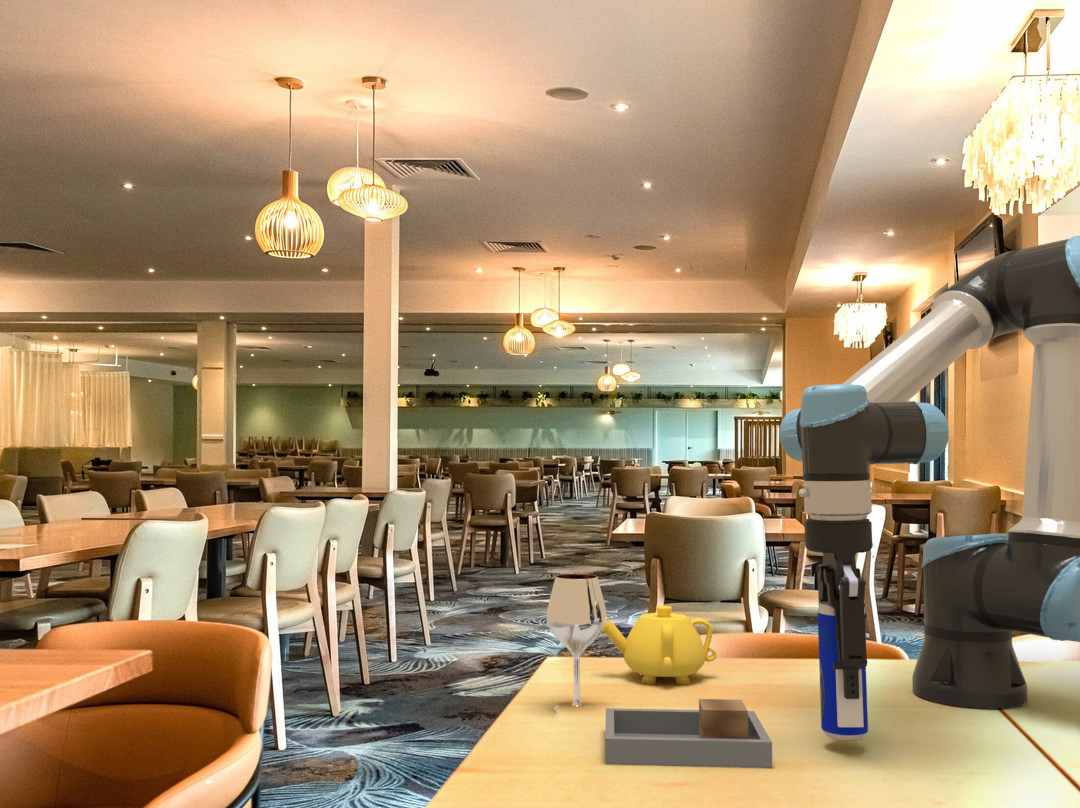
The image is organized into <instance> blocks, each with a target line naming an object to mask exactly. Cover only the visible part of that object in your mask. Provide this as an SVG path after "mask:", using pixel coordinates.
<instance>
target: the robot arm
mask: <svg viewBox="0 0 1080 808" xmlns="http://www.w3.org/2000/svg"><path fill="white" fill-rule="evenodd" d="M1018 331H1022V335H1023V337H1024V338H1025V339H1026V340H1027V341H1028V342H1029V343H1031V345H1032V346H1033V360H1032V361H1033V362H1032V374H1031V376H1032V377H1031V388H1030V390H1031V391H1030V403H1029V404H1030V405H1029V415H1028V416H1029V417H1028V430H1027V444H1026V446H1027V447H1026V458H1025V459H1026V461H1025V472H1024V473H1025V475H1024V487H1023V499H1022V512H1021V513H1022V515H1021V519H1020V520H1019V522H1017V523H1015V524H1014V525H1013V526H1012V527H1011V528H1009V530H1008V534H1007V533H986V534H985V533H984V534H970V535H954V536H939V537H933V538H930V539H928V540H926V542H925V543H924V546H923V550H922V551H923V552H922V553H923V554H922V555H923V556H922V563H921V574H922V576H921V578H922V601H923V623H924V624H923V625H924V626H923V627H924V628H923V629H924V630H923V631H924V633H923V634H924V637H923V638H924V639H923V642H922V645H921V648H920V652H919V654H918V657H917V658H918V659H917V660H916V664H915V667H914V669H913V673H912V680H911V681H912V693H913V694H915V695H916V696H918V697H919V698H922V699H925V700H928V701H932V702H936V703H940V704H945V705H951V706H957V707H965V708H973V709H974V708H978V709H1008V708H1017V707H1020V706H1023V705H1025V704H1026V703H1028V686H1027V681H1026V679H1025V677H1024V674H1023V671H1022V668H1021V666H1020V663H1019V660H1018V657H1017V654H1016V652H1015V649H1014V645H1013V632H1016V633H1017V632H1018V633H1022V634H1027V635H1034V636H1037V637H1038V636H1039V637H1043V638H1044V637H1045V638H1049V639H1051V640H1053V641H1061V642H1066V641H1071V642H1076V643H1080V235H1074V236H1071V237H1070V238H1065V239H1062V240H1057V241H1054V242H1053V241H1052V242H1047V243H1045V244H1039V245H1033V246H1030V247H1025V248H1021V249H1015V250H1010V251H1006V252H1004V253H1000V254H998V255H996V256H995V257H993V258H991V259H989V260H986V261H985V262H984V263H982V264H980V265H978V266H977V267H976V268H974V269H973V270H971V271H970V272H968V273H967V274H965V275H964V276H963V277H961V278H960V279H958V280H957V281H956V282H954V283H953V284H952V285H951V286H950V287H948V288H947V289H945V291H943V292H942V293H941V294H939V295H938V296H937V297H936V298H935V300H934V301H933V303H932V306H931V311H930V312H929V313H927V314H926V315H925V316H924V317H922V318H921V319H920V320H919V321H917V322H916V323H915V324H914V325H913V326H911V327H910V328H909V329H908V330H906V331H905V332H904V333H903V334H901V335H900V336H899V337H898V338H897V339H895V340H894V341H893V342H891V344H889V345H888V346H886V347H885V349H883V350H882V351H881V352H880V353H878V354H876V356H874V357H873V358H872V359H871V360H870V361H868V362H867V363H866V364H864V365H863V366H862V367H861V368H859V370H858V371H856V372H855V373H854V374H852V375H851V376H850V377H849V378H847V380H845V381H844V382H842V383H839V384H838V383H836V384H818V385H817V384H816V385H811V386H809V387H807V388H805V389H804V390H803V391H802V394H801V399H800V400H801V401H800V407H799V408H795V409H792V410H791V411H789V412H787V414H785V416H784V418H783V419H782V421H781V423H780V427H779V433H778V434H779V435H778V436H779V441H780V444H781V448H782V449H783V450H784V452H785V454H786V455H787V456H788V457H789V458H790V459H792V460H794V461H796V462H801V463H802V479H803V486H804V488H799V490H798V496H799V497H801V498H803V505H804V506H803V507H804V508H803V509H804V510H803V511H804V513H805V514H806V515H809V518H806V519H805V521H804V522H803V523H804V525H803V526H804V546H805V549H806V550H807V551H809V552H812V553H817V554H818V553H819V554H822V563H817V564H816V566H815V571H816V576H817V586H818V587H817V594H818V606H819V605H820V602H823V601H824V602H828V604H829V606H830V607H832V608H834V614H835V633H836V644H837V655H838V664H832V669H836V695H837V725H838V727H864V724H863V695H862V668H863V667H866V668H867V666H868V657H867V634H866V630H867V629H866V611H865V609H866V607H865V606H866V605H865V593H866V585H867V584H866V580H865V577H863V576H862V575H861V569H860V568H859V567H857V564H856V558H855V556H856V554H857V553H861V554H863V553H867V552H870V551H871V550H872V548H873V528H872V527H873V525H872V524H873V523H872V521H870V519H869V518H867V516H868V515H870V514H871V513H872V511H873V510H872V489H871V488H872V487H871V486H872V485H871V466H872V465H895V464H896V465H897V464H898V465H901V464H909V465H915V466H916V465H918V464H919V463H930V462H933V461H934V460H937V459H938V458H940V457H941V456H942V454H943V453H944V451H945V450H946V448H947V447H948V446H947V445H948V443H949V438H950V437H949V433H950V431H949V423H948V420H947V418H946V416H945V415H944V413H943V412H942V411H941V409H939V408H938V407H937V406H936V405H934V404H932V403H928V402H917V401H916V400H911V399H912V398H913V397H914V396H915V395H917V394H918V393H919V392H920V391H921V390H922V389H924V388H925V387H926V386H927V385H928V384H930V383H931V382H932V381H933V380H935V378H936V377H938V376H939V375H940V374H941V373H942V372H944V371H945V370H946V369H947V368H948V367H950V366H951V365H952V364H953V363H955V361H956V360H958V359H959V358H960V357H962V356H963V354H964V353H966V352H968V350H975V349H976V350H977V349H980V348H982V347H984V346H985V345H987V344H988V343H989V342H990V341H992V340H993V339H995V338H997V337H1000V336H1002V335H1006V334H1010V333H1013V332H1018ZM909 400H911V401H909ZM854 655H855V656H854Z"/></svg>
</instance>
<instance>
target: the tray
mask: <svg viewBox="0 0 1080 808" xmlns="http://www.w3.org/2000/svg"><path fill="white" fill-rule="evenodd" d="M604 726H605V730H604V731H605V735H604V737H605V738H604V748H605V749H604V750H605V753H604V757H605V758H604V759H605V761H604V764H605V765H616V766H617V765H620V766H623V765H625V766H657V767H658V766H661V767H662V766H664V767H665V766H666V767H667V766H668V767H699V768H700V767H702V768H703V767H705V768H706V767H707V768H743V769H744V768H746V769H750V768H752V769H773V743H772V740H771V739H770V736H769V735H768V733H767V731H766V729H765V727H764V726H763V724H762V722H761V721H760V719H759V717H758V715H757V713H756V712H755V710H748V739H716V738H699V709H671V708H670V709H663V708H661V709H659V708H656V709H655V708H619V707H618V708H614V707H612V708H611V707H610V708H608V707H606V708H605V725H604Z"/></svg>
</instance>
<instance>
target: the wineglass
mask: <svg viewBox="0 0 1080 808" xmlns="http://www.w3.org/2000/svg"><path fill="white" fill-rule="evenodd" d="M549 597H550V598H549V601H548V605H547V611H546V623H547V626H548V629H549V630H550V632H551V633H552V635H553V636H554V637H555V638H556V639H557V641H559V642H560V643H561V644H562V645H563V646H564V647H565V648H567V650H568V651H569V652H570V654H571V655H572V657H573V700H572V703H571V706H573V707H580V706H582V705H583V704H582V701H581V695H580V693H581V688H580V677H581V676H580V674H581V673H580V671H581V670H580V665H581V663H580V662H581V661H580V658H581V655H582V654H583V653H584V652H585V650H586V649H587V648H588V647H589V646H590V645H591V644H593V643H594V642H595V641H596V640H597V639H598V638H599V637H600V636H601V634H602V633H603V630H604V628H605V625H606V622H608V621H607V618H608V617H607V608H606V605H605V600H604V596H603V593H602V589H601V585H600V581H599V577H598V576H597V575H595V574H587V573H586V574H585V573H570V574H569V573H567V574H559V575H555V578H554V581H553V585H552V590H551V592H550V596H549ZM558 707H559V704H556V705H555V706H553V711H554V712H555V713H557V712H558V709H559V708H558Z"/></svg>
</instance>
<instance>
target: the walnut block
mask: <svg viewBox="0 0 1080 808" xmlns="http://www.w3.org/2000/svg"><path fill="white" fill-rule="evenodd" d="M698 710H699V738H716V739H748V711H749V710H748V709H747V707H746V705H745V703H744V701H743V700H742V699H725V698H723V699H721V698H719V699H718V698H717V699H716V698H715V699H714V698H698Z"/></svg>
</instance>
